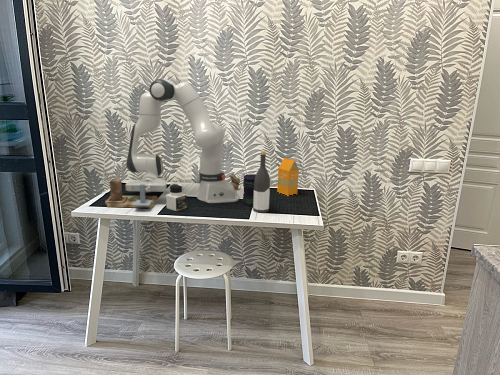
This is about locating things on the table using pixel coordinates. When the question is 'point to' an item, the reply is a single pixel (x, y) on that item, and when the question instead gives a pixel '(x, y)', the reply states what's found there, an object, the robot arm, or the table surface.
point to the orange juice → (288, 177)
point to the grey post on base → (142, 198)
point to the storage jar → (248, 190)
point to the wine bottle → (261, 188)
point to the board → (130, 201)
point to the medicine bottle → (176, 198)
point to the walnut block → (116, 190)
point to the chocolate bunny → (234, 181)
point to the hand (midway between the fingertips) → (143, 191)
